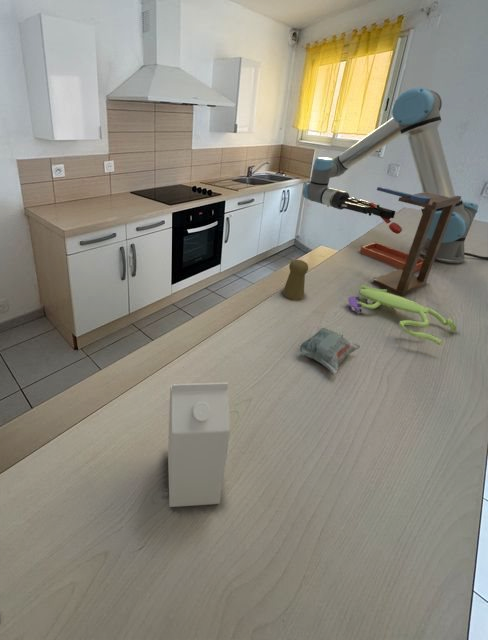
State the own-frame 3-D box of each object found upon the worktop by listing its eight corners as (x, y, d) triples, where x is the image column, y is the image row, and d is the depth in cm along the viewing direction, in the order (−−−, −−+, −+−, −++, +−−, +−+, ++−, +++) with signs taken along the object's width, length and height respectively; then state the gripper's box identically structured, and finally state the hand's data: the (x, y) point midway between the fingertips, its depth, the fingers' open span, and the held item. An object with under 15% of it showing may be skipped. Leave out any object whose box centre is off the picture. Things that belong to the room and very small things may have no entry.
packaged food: (357, 355, 74) (362, 338, 72) (333, 381, 66) (338, 363, 64) (321, 336, 80) (325, 319, 78) (295, 358, 72) (299, 340, 70)
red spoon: (366, 205, 125) (368, 202, 124) (372, 203, 127) (375, 201, 126) (395, 234, 118) (398, 232, 117) (401, 232, 120) (404, 230, 119)
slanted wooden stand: (372, 283, 105) (400, 194, 94) (397, 272, 113) (425, 188, 102) (402, 297, 98) (437, 202, 86) (427, 284, 106) (461, 196, 94)
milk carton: (167, 456, 51) (170, 363, 43) (212, 453, 52) (222, 362, 44) (169, 508, 44) (173, 409, 37) (219, 504, 45) (233, 407, 38)
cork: (301, 290, 99) (307, 258, 95) (305, 301, 94) (313, 267, 90) (281, 288, 100) (287, 256, 96) (284, 299, 94) (291, 265, 90)
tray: (359, 252, 128) (361, 246, 127) (373, 247, 133) (375, 242, 132) (411, 273, 113) (413, 267, 112) (424, 267, 118) (427, 260, 117)
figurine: (424, 361, 73) (433, 342, 71) (330, 300, 95) (334, 283, 93) (467, 339, 81) (476, 321, 79) (371, 287, 103) (376, 272, 100)
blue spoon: (373, 190, 101) (374, 186, 100) (382, 189, 103) (384, 185, 102) (423, 203, 88) (424, 198, 88) (432, 202, 90) (434, 197, 90)
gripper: (344, 205, 143) (399, 221, 125) (323, 209, 135) (379, 227, 117) (348, 188, 140) (405, 203, 122) (327, 192, 133) (384, 207, 114)
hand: (392, 215), depth 120 cm, fingers closed on red spoon, 2 cm apart
